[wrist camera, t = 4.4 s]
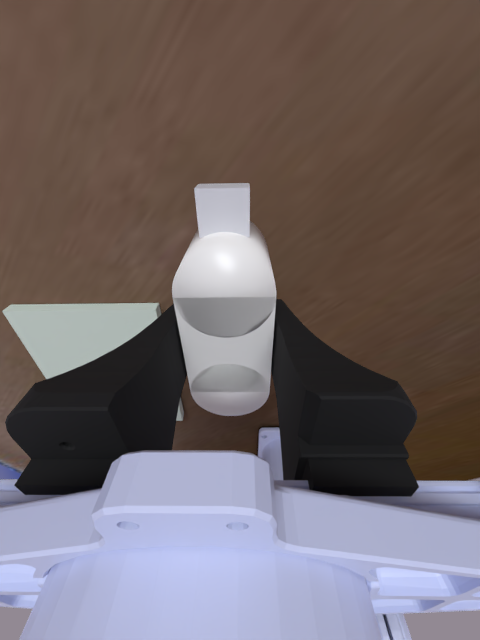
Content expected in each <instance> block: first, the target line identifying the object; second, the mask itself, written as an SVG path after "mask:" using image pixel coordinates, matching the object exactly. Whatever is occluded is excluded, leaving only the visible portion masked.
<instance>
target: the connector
mask: <svg viewBox="0 0 480 640" xmlns="http://www.w3.org/2000/svg"><path fill="white" fill-rule="evenodd" d="M194 191H195V200H196V210H197V219H198V228H199V229H198V230H197V232H196V234H195V235H194V237H193V239H192V242H191V244H190V246H189V248H188V250H187V252H186V254H185V256H184V258H183V260H182V262H181V264H180V266H179V268H178V270H177V272H176V274H175V277H174V280H173V285H172V296H173V302H174V307H175V312H176V317H177V323H178V328H179V333H180V338H181V344H182V349H183V354H184V359H185V365H186V370H187V375H188V380H189V385H190V391H191V395H192V397H193V399H194V400H195V402H196V403H197V404H198V405H199V406H200V407H202V408H203V409H205V410H207V411H209V412H211V413H214V414H218V415H224V416H239V415H245V414H248V413H251V412H253V411H255V410H257V409H259V408H260V407H261V406H262V405H264V403H265V402H266V401H267V399H268V397H269V392H270V378H271V364H272V350H273V336H274V322H275V308H276V286H275V281H274V276H273V271H272V267H271V262H270V257H269V253H268V248H267V244H266V240H265V238H264V236H263V234H262V232H261V231H260V230H259V228H258V227H257V226H256V225H255V224H253V223H252V222H251V221H250V185H249V183H225V184H198V185H197V186H196V187H195V188H194Z"/></svg>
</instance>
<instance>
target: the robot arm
mask: <svg viewBox="0 0 480 640" xmlns="http://www.w3.org/2000/svg"><path fill="white" fill-rule="evenodd" d="M271 371H272V376H273V381H274V386H275V391H276V398H277V407H278V418H279V427H271V428H261V429H259V441H258V456H256V455H254V454H253V453H247V452H240V451H216V450H172V444H173V438H174V431H175V425H176V418H177V413H178V407H179V401H180V397H181V392H182V389H183V385H184V382H185V379H186V375H187V370H186V365H185V359H184V354H183V349H182V344H181V338H180V333H179V328H178V323H177V317H176V312H175V307H174V304H173V305H172V306H170V307H169V308H168V309H167V310H166V311H165V312H164V313H163V314H162V315H161V316H159V317H158V318H157V319H156V320H155V321H154V322H152V323H151V324H150V325H149V326H147V327H146V328H145V329H144V330H142V331H141V332H140V333H139V334H137V335H136V336H134V337H133V338H131V339H130V340H128V341H127V342H125V343H124V344H122V345H121V346H119V347H117V348H116V349H114V350H112V351H110V352H108V353H106V354H104V355H103V356H101V357H99V358H97V359H95V360H93V361H91V362H89V363H86V364H84V365H82V366H80V367H77V368H75V369H73V370H70V371H68V372H65V373H63V374H60V375H57V376H54V377H52V378H49V379H46V380H43V381H40V382H38V383H35V384H34V385H33V386H32V388H31V389H30V390H29V391H28V392H27V394H26V395H25V396H24V397H23V398H22V400H21V401H20V402H19V403H18V404H17V405H16V407H15V408H14V409H13V410H12V411H11V413H10V414H9V415H8V416H7V419H6V422H5V423H6V428H7V431H8V433H9V434H10V436H11V437H12V438H13V439H14V441H15V442H16V443H17V444H18V445H19V446H20V447H21V448H22V449H23V450H24V451H25V452H26V453H27V454H28V456H29V457H30V458H31V461H30V462H29V464H28V465H27V467H26V468H25V470H24V471H23V473H22V474H21V476H20V478H19V479H0V607H14V608H29V609H33V610H32V612H31V614H30V616H29V618H28V621H27V623H26V625H25V628H24V630H23V632H22V634H21V637H20V639H19V640H412V638H411V636H410V632H409V629H408V627H407V623H406V620H405V617H404V614H403V613H424V612H449V611H474V610H480V481H416V479H415V477H414V475H413V473H412V471H411V469H410V467H409V465H408V463H407V461H406V459H408V458H409V455H408V452H407V450H406V448H405V446H404V444H403V443H404V441H405V440H406V438H407V436H408V435H409V433H410V432H411V430H412V428H413V427H414V425H415V422H416V420H417V411H416V409H415V408H414V406H413V405H412V403H411V401H410V399H409V398H408V396H407V395H406V393H405V392H404V390H403V389H402V387H401V386H400V385H399V383H398V382H397V381H395V380H392V379H390V378H387V377H385V376H383V375H380V374H378V373H376V372H373V371H371V370H369V369H367V368H365V367H363V366H361V365H359V364H357V363H355V362H353V361H352V360H350V359H348V358H346V357H345V356H343V355H341V354H340V353H338V352H337V351H335V350H334V349H332V348H331V347H329V346H328V345H326V344H325V343H324V342H322V341H321V340H320V339H319V338H317V337H316V336H315V335H314V334H313V333H311V332H310V331H309V330H308V329H307V328H306V327H305V326H304V325H303V324H302V323H301V322H300V321H299V320H298V318H297V317H296V316H295V315H294V314H293V313H292V312H291V310H290V309H289V308H288V307H287V305H286V304H285V303H284V302H283V301H282V300H281V299H276V308H275V322H274V336H273V350H272V364H271Z"/></svg>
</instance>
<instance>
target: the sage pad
mask: <svg viewBox="0 0 480 640" xmlns="http://www.w3.org/2000/svg"><path fill="white" fill-rule="evenodd" d="M2 312H3V313H4V315H5V316H6V318H7V319H8V321H9V323H10V324H11V326H12V327H13V329H14V330H15V332H16V333H17V335H18V336H19V338H20V339H21V341H22V342H23V344H24V346H25V347H26V349H27V350H28V352H29V353H30V355H31V356H32V358H33V359H34V361H35V362H36V364H37V365H38V367H39V369H40V370H41V372H42V373H43V375H44V376H45V378H46V379H49V378H52V377H54V376H57V375H60V374H63V373H65V372H68V371H70V370H73V369H75V368H77V367H80V366H82V365H84V364H86V363H89V362H91V361H93V360H95V359H97V358H99V357H101V356H103V355H104V354H106V353H108V352H110V351H112V350H114V349H116V348H117V347H119V346H121V345H122V344H124V343H125V342H127V341H128V340H130V339H131V338H133V337H134V336H136V335H137V334H139V333H140V332H141V331H142V330H144V329H145V328H146V327H147V326H149V325H150V324H151V323H152V322H154V321H155V320H156V319H157V318H158V317H159V316H161V310H160V306H159V303H119V304H20V305H10V306H8V307H7V308H6V309H4V310H3V311H2ZM183 416H184V410H183V405H182V401H181V397H180V401H179V407H178V413H177V418H176V421H183Z"/></svg>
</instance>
